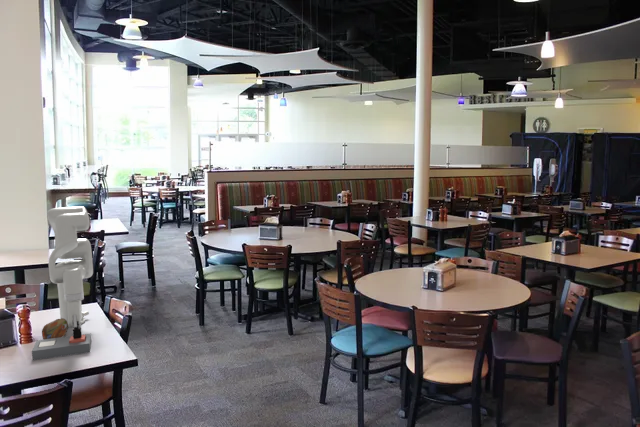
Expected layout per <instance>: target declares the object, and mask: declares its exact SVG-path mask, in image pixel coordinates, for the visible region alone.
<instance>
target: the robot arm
mask: <svg viewBox="0 0 640 427" xmlns="http://www.w3.org/2000/svg"><path fill="white" fill-rule="evenodd" d="M46 218H47V221H48V224H49V225H50V226H51V228H52V230H53V234H54V243H55V248H54V249H53V250H52V252H51V254H50V256H49V258H48V274H49V280H50V281H51V283H53V284H56V285H57V292H58V294H57V296H58V303H59V304H58V305H59V315H60V318H59V319H62V318H63V319H65V320H66V321H67V323H68V328H70V327H71V328H72V336H73V338H74V339H76V338H81V337H82V334H83V333H82V328H81V325H82V324H85V322H86V319H85V318H84V317H85V316H88V315H90V312H89V310H86V311H84V312H83V310H82V309H83V308H82V301H83V300H84V299H85V297H84V285H83V284H84V283H83V281H84V279H89V278H91V277H92V276H93V274H94V264H93V263H94V262H93V254H92V251H93V250H92V245H91V242H90V241H89V239H88V238H78V233H77V232H81V231H87V230H89V228H90V222H91V221H90V216H89V212H88V210H87V208H86V207H85V206H80V205H79V206H65V207H53V208H50V209H48V210H47V212H46ZM58 259H60V260H66V261H61V262H58V263H57V264H56V261H57V260H58ZM71 259H76V260H71Z"/></svg>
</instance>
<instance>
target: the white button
mask: <svg viewBox="0 0 640 427" xmlns="http://www.w3.org/2000/svg"><path fill="white" fill-rule="evenodd" d="M55 343H56V340H55V341H47V342H40V344H39V347H46V346H53V345H55Z"/></svg>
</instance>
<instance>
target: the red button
mask: <svg viewBox="0 0 640 427" xmlns="http://www.w3.org/2000/svg"><path fill="white" fill-rule="evenodd" d="M70 336H71V337H70V340H69V342H70V343H76V342H83V341H86V335H82V337H81V338H76V339H74V338H73V335H70Z"/></svg>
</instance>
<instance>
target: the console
mask: <svg viewBox="0 0 640 427" xmlns="http://www.w3.org/2000/svg"><path fill="white" fill-rule="evenodd" d="M81 334H82V335H86V341H83V342H76V343H70V342H69V340H70V337H71V336H72V335H69V336H67V335H66V336H63V337H59V338H51V339H43V338H42V339H38V340H37V339H36V341H35V343H34V345H33V347H32V350H31V357H32V361H38V360H39V361H40V360H47V359H51V358H52V359H55V358H58V357H67V356H74V355H81V354H89V353H91V347H92V342H93V340H92V333H81ZM55 340H56V343H55V345H53V346H46V347H39V344H40V342H47V341H55Z"/></svg>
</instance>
